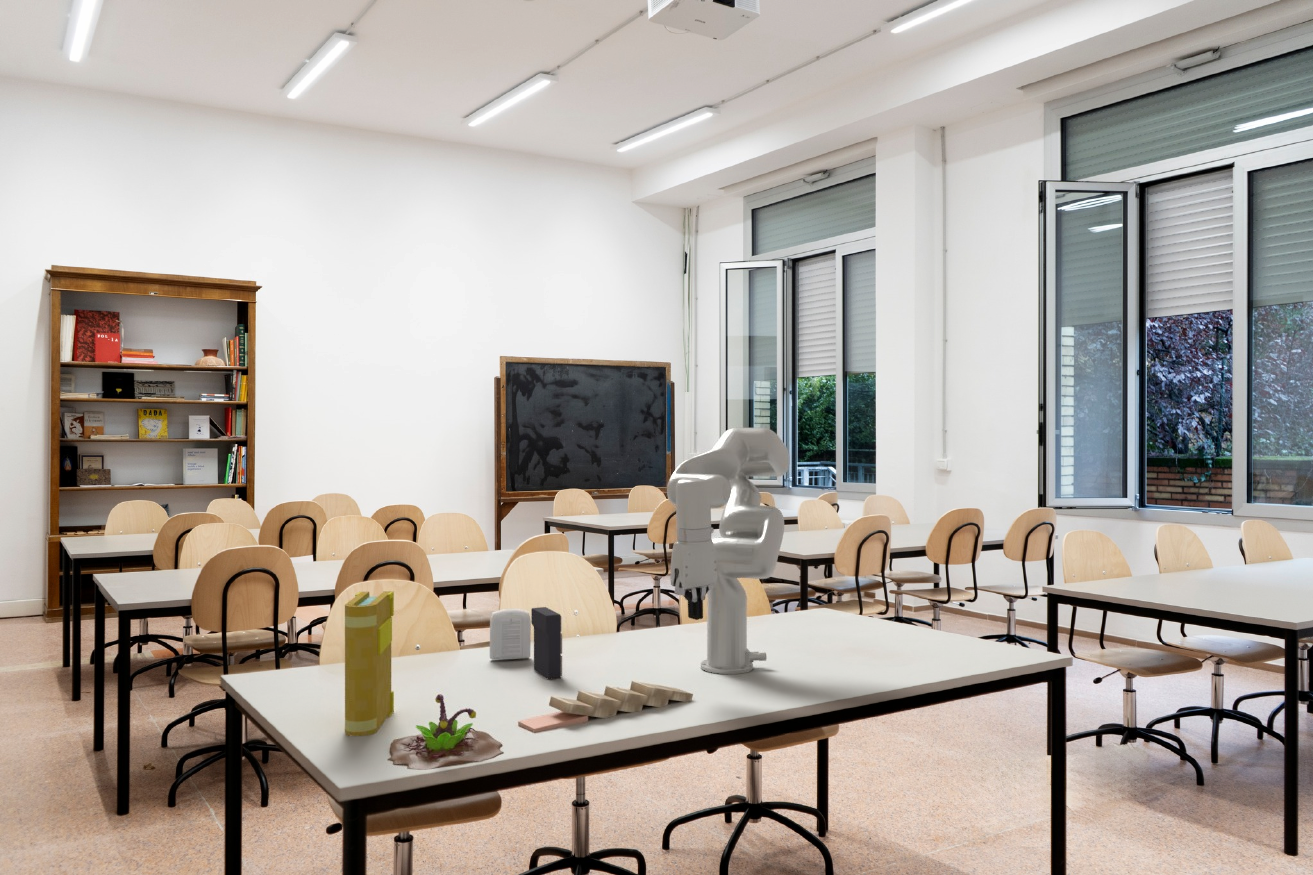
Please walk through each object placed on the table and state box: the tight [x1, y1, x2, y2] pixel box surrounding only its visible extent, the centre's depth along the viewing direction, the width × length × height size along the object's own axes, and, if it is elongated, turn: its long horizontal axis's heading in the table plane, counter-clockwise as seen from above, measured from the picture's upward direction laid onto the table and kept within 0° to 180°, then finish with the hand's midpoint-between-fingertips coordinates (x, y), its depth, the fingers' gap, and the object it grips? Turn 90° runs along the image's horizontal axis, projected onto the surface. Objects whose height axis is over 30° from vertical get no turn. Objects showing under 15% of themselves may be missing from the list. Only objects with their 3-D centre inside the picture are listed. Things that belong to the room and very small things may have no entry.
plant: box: [387, 693, 505, 771], centre depth 169 cm, size 20×20×11 cm
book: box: [344, 590, 395, 737], centre depth 186 cm, size 17×7×25 cm, turn 5°
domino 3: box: [576, 690, 644, 713], centre depth 194 cm, size 2×6×12 cm
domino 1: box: [517, 710, 589, 733], centre depth 186 cm, size 2×6×12 cm
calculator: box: [530, 606, 563, 681], centre depth 228 cm, size 11×4×15 cm, turn 26°
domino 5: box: [629, 680, 694, 703], centre depth 202 cm, size 2×6×12 cm
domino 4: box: [603, 685, 670, 708], centre depth 198 cm, size 2×6×12 cm
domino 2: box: [548, 695, 618, 719], centre depth 190 cm, size 2×6×12 cm
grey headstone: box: [489, 608, 532, 660], centre depth 244 cm, size 10×4×12 cm, turn 103°
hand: (695, 618), depth 212 cm, fingers closed
